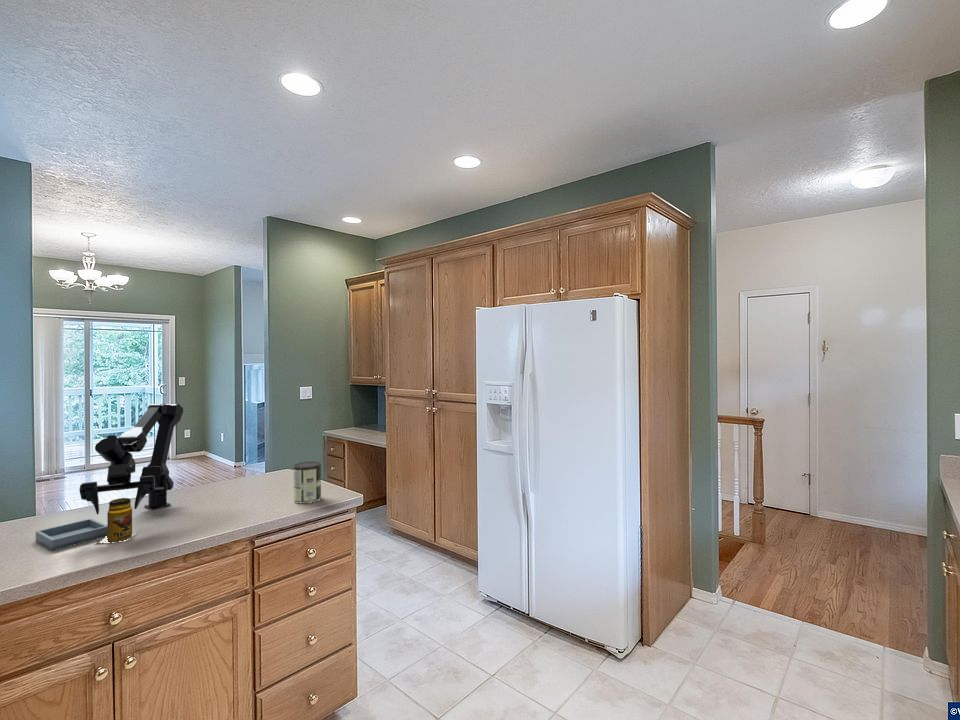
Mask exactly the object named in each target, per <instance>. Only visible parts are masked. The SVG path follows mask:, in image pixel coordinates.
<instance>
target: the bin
mask: <svg viewBox="0 0 960 720" xmlns="http://www.w3.org/2000/svg"><path fill="white" fill-rule="evenodd" d="M105 536H107V524H105V523H102V522H101V521H98V520H96V519H93V518H87V519H82V520H77V521H73V522H69V523H66V524H62V525H57V526H52V527H48V528H44V529H40V530H37V531H36V530H35V542H36V543H37V544H39V543H40V545H41V546H42V547H44V546H45V548H46V547H47V548H46V549H48V550H49V551H51V550H52V551H51V552H53V551H56V549H57V550H60V549H59V548H61V549H63V547H65V548H67V546H68V547H71V545H72V546H75V545H74V544H76V545H79V544H78V543H80V544H83V543H86V542H91V541H94V539H95V540H98V539H101V537H102V538H104V537H105ZM97 538H98V539H97ZM90 540H91V541H90Z"/></svg>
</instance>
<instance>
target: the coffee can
mask: <svg viewBox="0 0 960 720" xmlns="http://www.w3.org/2000/svg"><path fill="white" fill-rule="evenodd" d="M321 466H322V463H321V462H319V461H303V462H298V463H294V464H293V465H292V467H293V502H294V503H295V502H296V503H295V504H298V503H308V504H312V502H314V503H316V501H317V502H319V501H321V500H322V487H321V486H322V482H321V481H322V477H321V476H322V474H321V473H322V472H321V471H322V469H321V468H322V467H321ZM320 499H321V500H320Z"/></svg>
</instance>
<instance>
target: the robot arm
mask: <svg viewBox="0 0 960 720" xmlns="http://www.w3.org/2000/svg"><path fill="white" fill-rule="evenodd" d="M183 413H184V407H183V406H181V404H179V403H151V404H149V405H148V406H147V410H146V411H144V414H142V416H141V417H140V418H139V419H138V421H137V422H136V423H135V424H134V426H133V427H132V428H131V429H129V430H126V431H124V432H123V433H121V435H119V436H118V437H117V436H116V434H108V435H107V437H106V438H102V439H101V440H100V441H99V442H97V443H96V444H95V446H94V449H95V452H96V453H98V455H100V457H102V458H103V460H104V461H106V462H109V463H110V464H109V465H108V466H107V468H108V469H107V476H106V482H107V484H100V485H98V481H89V482H82V483H81V484H80V485H79V490H78V491H79V495H80V498H81V500H83V501H86V502H91V504H92V506H93V508H94V511H95V514H96V515H99V514H100V499H99V493H105V492H111V491H112V492H113V491H124V490H132V489H137V490H136V491H137V492H136V496H135V500H134V510H137V509H138V507H139V505H140V503H141V502H142V500H143V499H144V498H145V497H146V495H148V504H146V505H144V508H146V509H149V510H157V509H161V508H165V507H169V505H170V506H171V505H172V503H169V502H168V491H171V490H172V489H173V488H174V485H175V483H174V480H173V479H172V478H171V477H170V470H169V467H168V466H167V461H168V456H169V451H170V446H171V442H172V437H173V433H174V428H175V427H176V425H177V424H178V423H180V421H181V419H182V417H183ZM156 423H157V424H158V429H157V433H156V438H155V441H154V446H153V450H152V455H151V459H150V463H148V465H147V466H143V467H142V469H141V474H140V476H139V481H131V479H132V474H133V473H134V474H135V473H136V461H135V459H134V458H133V454H132V453H138V452H139V453H141V451H142V450H143V449H144V448H145V446H146V444H147V442H148V439H147V436H148V435H149V433H150V432H151V430H152V429H153V428H154V426H155V425H156Z"/></svg>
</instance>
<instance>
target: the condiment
mask: <svg viewBox="0 0 960 720" xmlns="http://www.w3.org/2000/svg"><path fill="white" fill-rule="evenodd" d="M131 501H132V499H131V498H128V497H121V498H116V499H112V500H110V501H109V502H108V505H109V506H108V510H107V519H106V520H107V521H106V522H107V524H106V525H107V538H108V539H107V540H108V542H119V541H124V540H127V539H129V538H131V537H132V535H133V534H134V535H135V536H136V535H138V534H139V533H138V532H135V533H133V507H132V504H131ZM131 539H132V538H131ZM127 542H128V541H126V542H125V543H127ZM102 543H103V542H102ZM102 543H101V544H102ZM101 544H100V545H101ZM104 544H106V543H104ZM102 545H103V544H102Z"/></svg>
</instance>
